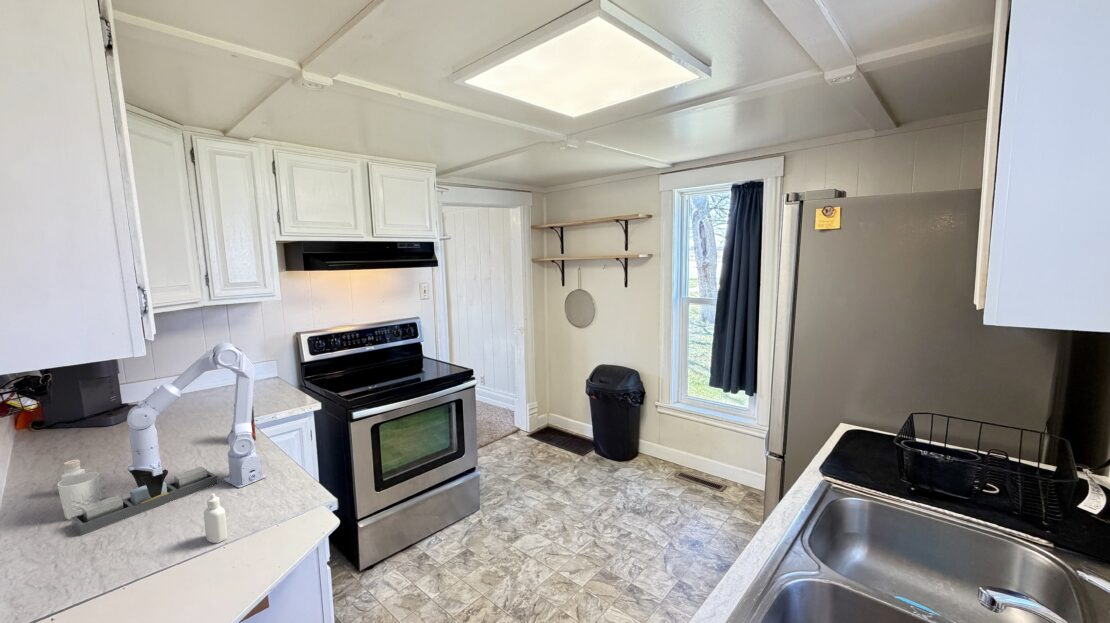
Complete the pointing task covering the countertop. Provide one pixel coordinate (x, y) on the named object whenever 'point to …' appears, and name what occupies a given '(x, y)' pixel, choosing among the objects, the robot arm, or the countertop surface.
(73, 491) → the white cup
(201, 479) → the tray
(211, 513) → the eye dropper bottle
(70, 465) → the salt shaker
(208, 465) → the countertop surface
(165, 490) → the light blue rectangular block
